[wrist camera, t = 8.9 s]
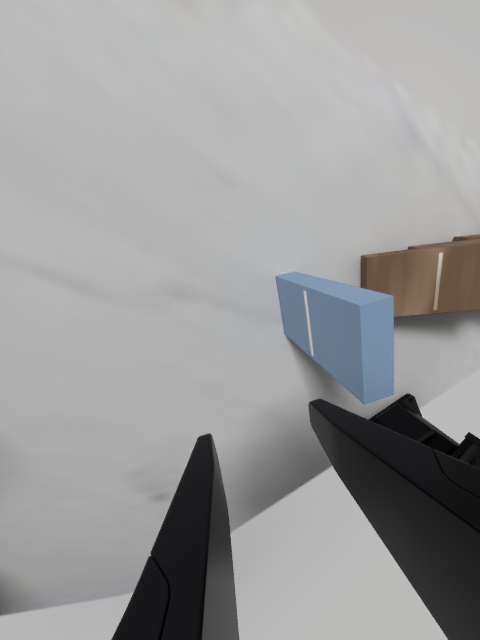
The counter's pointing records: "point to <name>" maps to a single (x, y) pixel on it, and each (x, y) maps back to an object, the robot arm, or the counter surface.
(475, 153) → the counter surface
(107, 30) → the counter surface
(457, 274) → the domino
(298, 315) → the blue domino
